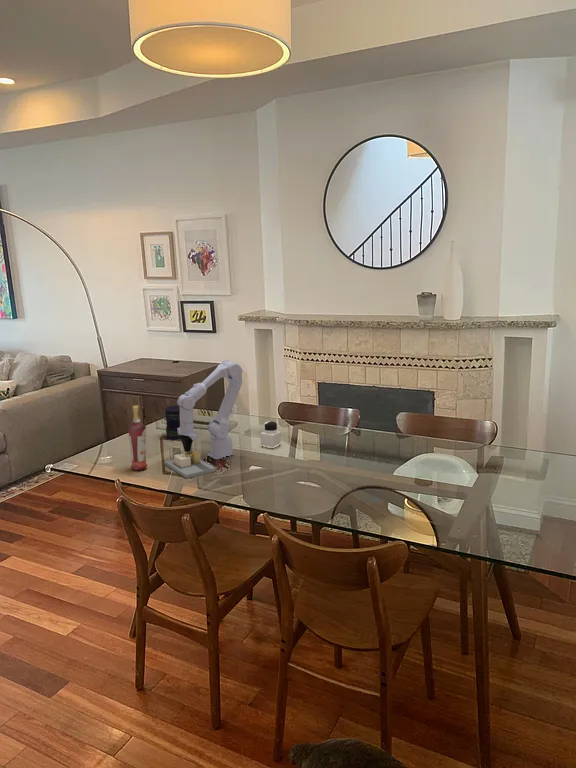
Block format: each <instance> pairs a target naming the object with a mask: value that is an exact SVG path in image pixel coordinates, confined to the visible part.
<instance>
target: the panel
mask: <svg viewBox="0 0 576 768" xmlns="http://www.w3.org/2000/svg"><path fill="white" fill-rule="evenodd" d="M188 457H190V456H188ZM164 465H165V467H167V468H169V469H171V470H172V471H173V472H175V473H177V474H179V476H181V477H183V478H185V479H189V478H193V477H194V478H195V477H198V476H202V475H207V474H210V473H214V472H216V469H217V468H216V467H215V466H213V465H211V464H210V463H207V462H206V461H204V460H202V459H201V458H200V463H199V464H192V463H191V466H188V467H183V468H181V467H179V466H178V465H176V464H174V459H170V460H169V459H168V460H166V461H164Z"/></svg>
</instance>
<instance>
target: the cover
mask: <svg viewBox="0 0 576 768" xmlns="http://www.w3.org/2000/svg"><path fill="white" fill-rule="evenodd" d="M185 454H186V453H179V454H174V455H173V460H174V464H176V465H178V466H179V467H181V468H183V467H188V466H191V458H190V457H187V456H185Z"/></svg>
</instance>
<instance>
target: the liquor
mask: <svg viewBox="0 0 576 768" xmlns="http://www.w3.org/2000/svg"><path fill="white" fill-rule="evenodd" d="M132 412H133V421H132V423H131V424H129V425H128V427H127V428H128V429H127V430H128V438H129V439H128V440H129V447H130V457H131V459H130V460H131V465H130V467H131V469H133V470H134V471H137V470H140V471H144V470H145V469H146V468H147V467H148V464H147V456H146V455H147V447H146V446H147V426H146V425H145V424H144V423H141V417H140V405H138V404H135V405H132ZM143 469H144V470H143Z"/></svg>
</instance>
